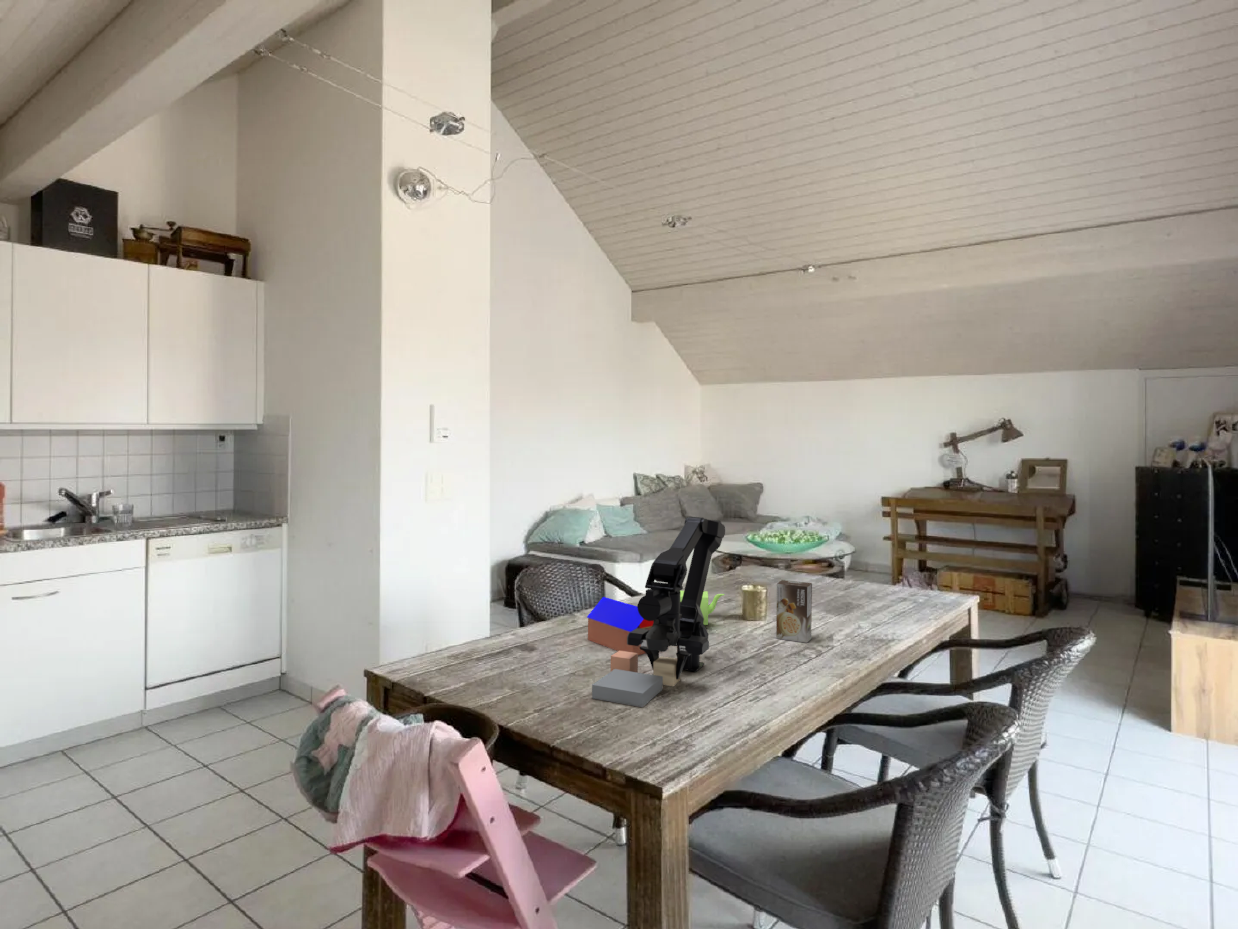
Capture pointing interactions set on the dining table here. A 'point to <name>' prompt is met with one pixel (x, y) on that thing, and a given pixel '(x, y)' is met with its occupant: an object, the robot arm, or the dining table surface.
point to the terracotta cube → (624, 661)
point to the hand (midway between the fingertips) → (666, 677)
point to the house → (615, 624)
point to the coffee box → (794, 611)
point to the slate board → (627, 687)
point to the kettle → (706, 604)
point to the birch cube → (666, 670)
